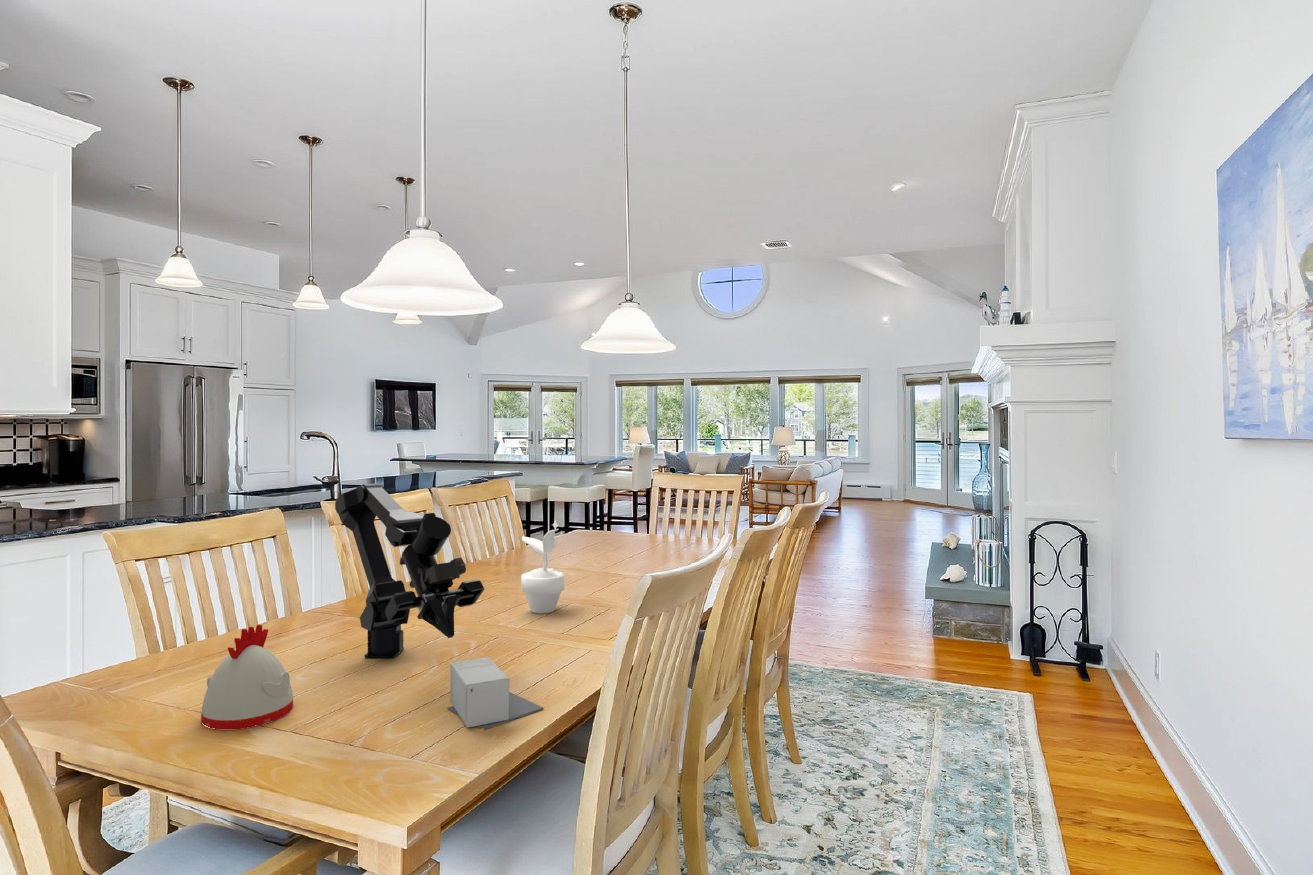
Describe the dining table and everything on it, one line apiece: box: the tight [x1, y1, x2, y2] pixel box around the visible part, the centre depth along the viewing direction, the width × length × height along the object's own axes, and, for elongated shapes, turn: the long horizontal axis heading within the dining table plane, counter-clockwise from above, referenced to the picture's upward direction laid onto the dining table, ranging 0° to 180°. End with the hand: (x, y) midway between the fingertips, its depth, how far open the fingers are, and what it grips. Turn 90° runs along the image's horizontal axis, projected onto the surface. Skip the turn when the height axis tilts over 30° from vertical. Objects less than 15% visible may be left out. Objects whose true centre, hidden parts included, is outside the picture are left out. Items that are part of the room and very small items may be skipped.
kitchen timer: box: [200, 624, 294, 730], centre depth 125 cm, size 14×14×15 cm
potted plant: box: [520, 518, 565, 615], centre depth 194 cm, size 13×12×25 cm
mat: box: [447, 691, 545, 730], centre depth 128 cm, size 12×12×1 cm
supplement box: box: [449, 656, 510, 728], centre depth 126 cm, size 7×7×13 cm
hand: (451, 636), depth 138 cm, fingers closed
